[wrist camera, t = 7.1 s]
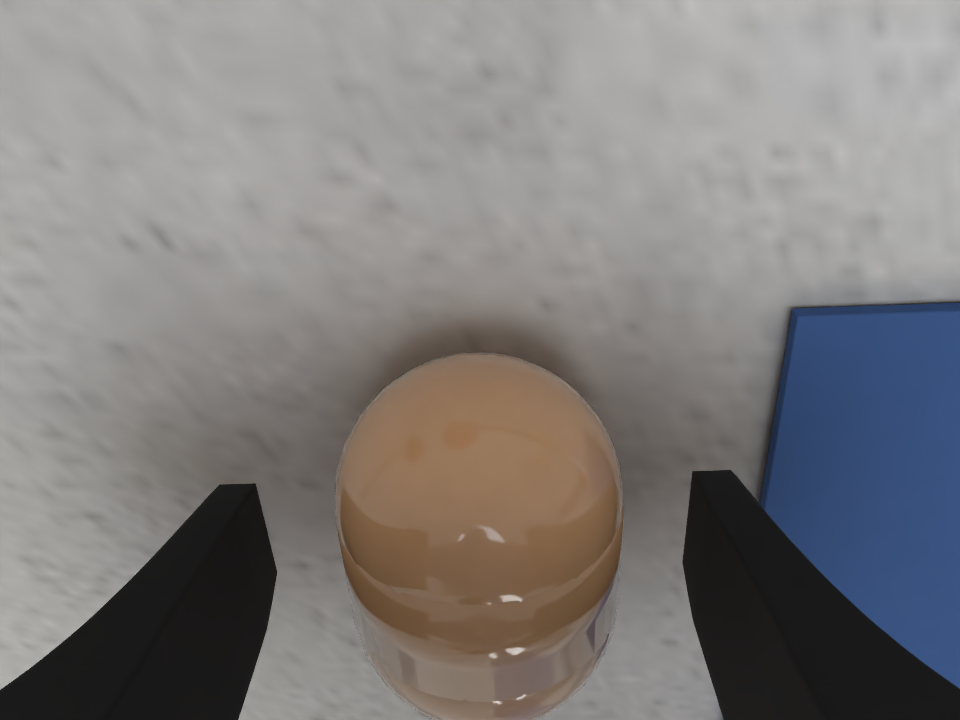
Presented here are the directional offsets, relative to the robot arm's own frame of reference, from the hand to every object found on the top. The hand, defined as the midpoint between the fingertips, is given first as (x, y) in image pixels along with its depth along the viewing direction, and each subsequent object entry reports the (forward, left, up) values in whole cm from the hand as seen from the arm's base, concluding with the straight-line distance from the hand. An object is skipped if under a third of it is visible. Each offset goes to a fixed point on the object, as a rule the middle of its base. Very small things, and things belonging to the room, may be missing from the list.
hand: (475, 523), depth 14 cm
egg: (0, 0, -2) cm, 2 cm away
